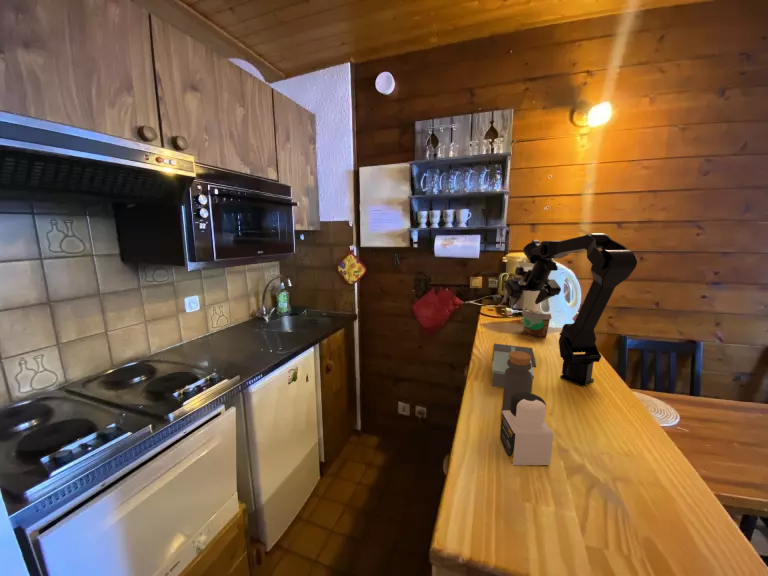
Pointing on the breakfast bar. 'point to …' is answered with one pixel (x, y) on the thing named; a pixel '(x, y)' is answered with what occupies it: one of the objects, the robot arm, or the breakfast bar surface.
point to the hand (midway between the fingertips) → (524, 303)
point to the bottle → (516, 376)
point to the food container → (535, 323)
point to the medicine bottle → (526, 431)
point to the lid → (504, 362)
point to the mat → (517, 348)
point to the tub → (500, 380)
